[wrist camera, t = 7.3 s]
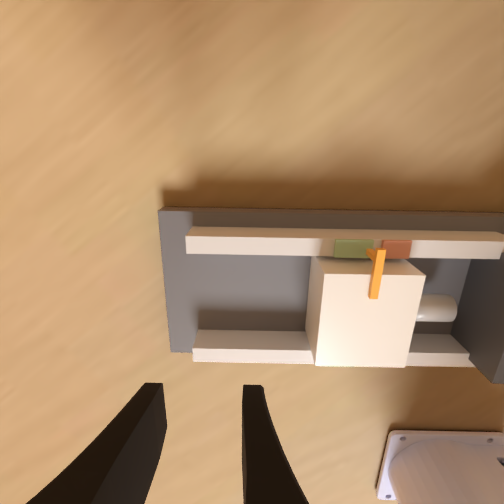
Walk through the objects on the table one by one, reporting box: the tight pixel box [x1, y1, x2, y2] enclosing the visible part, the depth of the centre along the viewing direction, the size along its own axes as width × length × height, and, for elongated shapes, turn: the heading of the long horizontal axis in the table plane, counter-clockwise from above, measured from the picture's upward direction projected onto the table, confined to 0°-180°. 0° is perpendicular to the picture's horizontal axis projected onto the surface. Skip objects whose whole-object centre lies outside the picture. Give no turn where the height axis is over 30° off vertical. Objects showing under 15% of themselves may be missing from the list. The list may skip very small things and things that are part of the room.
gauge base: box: [158, 207, 504, 384], centre depth 18 cm, size 22×10×5 cm, turn 89°
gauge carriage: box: [305, 248, 457, 368], centre depth 17 cm, size 8×7×4 cm
